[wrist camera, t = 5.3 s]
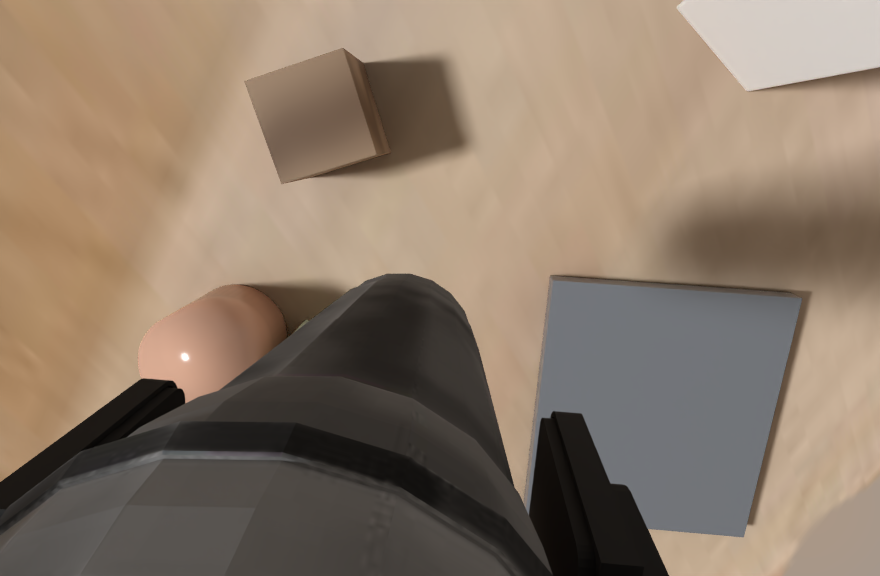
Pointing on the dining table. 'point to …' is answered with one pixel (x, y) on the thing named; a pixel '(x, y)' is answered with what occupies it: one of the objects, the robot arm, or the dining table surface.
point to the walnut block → (318, 115)
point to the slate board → (668, 390)
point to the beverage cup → (303, 464)
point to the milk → (788, 37)
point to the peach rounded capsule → (211, 340)
